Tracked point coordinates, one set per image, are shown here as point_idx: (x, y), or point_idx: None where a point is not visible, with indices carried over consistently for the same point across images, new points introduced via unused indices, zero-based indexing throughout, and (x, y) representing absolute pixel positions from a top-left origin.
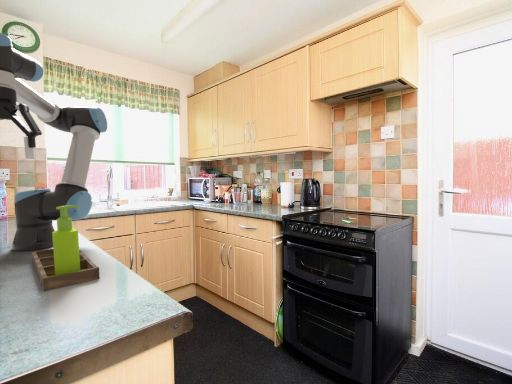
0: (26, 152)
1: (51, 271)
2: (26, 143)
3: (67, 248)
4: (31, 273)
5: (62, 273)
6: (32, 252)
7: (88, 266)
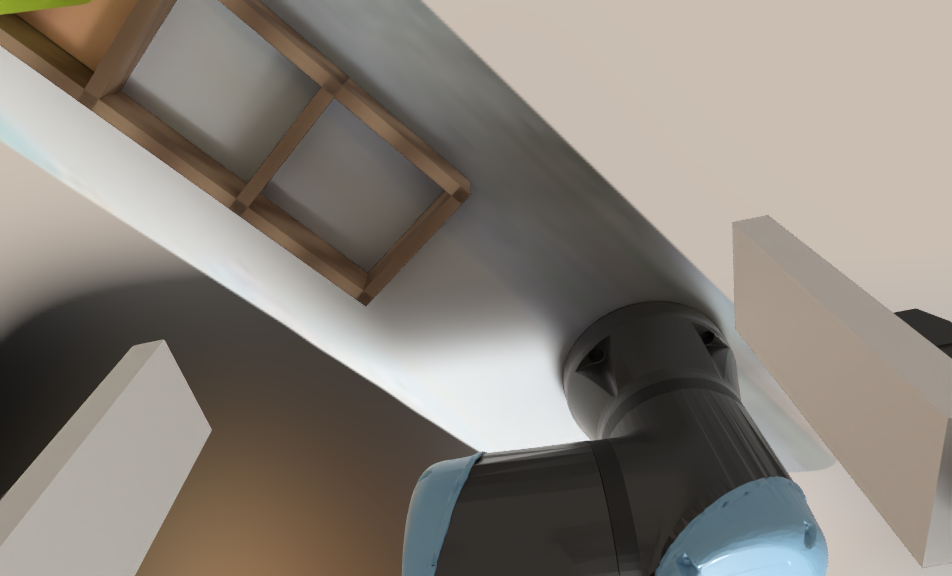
0: (110, 392)
1: None
2: (9, 491)
3: None
4: (302, 12)
5: None
6: (456, 184)
7: (45, 49)
